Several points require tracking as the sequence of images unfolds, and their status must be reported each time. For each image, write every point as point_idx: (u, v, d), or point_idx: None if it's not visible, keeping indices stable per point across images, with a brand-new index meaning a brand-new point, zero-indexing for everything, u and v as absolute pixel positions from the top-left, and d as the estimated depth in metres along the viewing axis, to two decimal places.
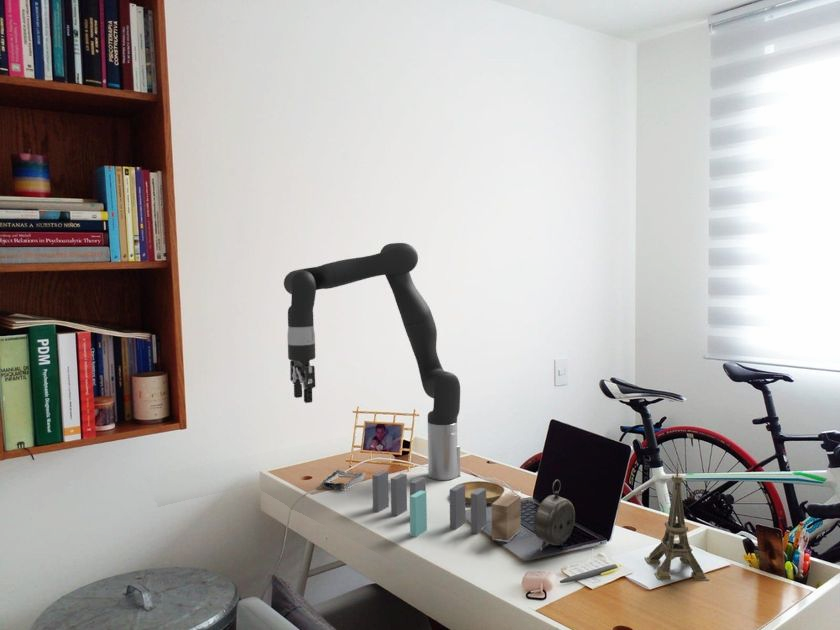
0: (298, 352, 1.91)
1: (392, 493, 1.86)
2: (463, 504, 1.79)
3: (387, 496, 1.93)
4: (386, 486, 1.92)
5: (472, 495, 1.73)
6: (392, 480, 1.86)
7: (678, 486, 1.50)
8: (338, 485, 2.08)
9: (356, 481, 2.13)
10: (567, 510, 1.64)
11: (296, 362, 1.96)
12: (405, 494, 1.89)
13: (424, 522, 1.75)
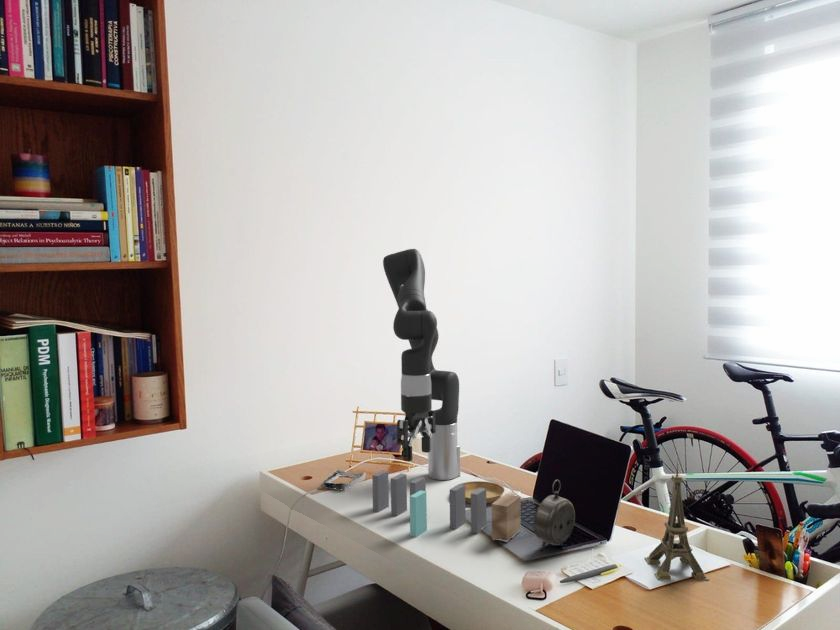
0: None
1: (392, 493, 1.86)
2: (463, 504, 1.79)
3: (387, 496, 1.93)
4: (386, 486, 1.92)
5: (472, 495, 1.73)
6: (392, 480, 1.86)
7: (678, 486, 1.50)
8: (338, 486, 2.08)
9: (356, 482, 2.13)
10: (567, 510, 1.64)
11: (417, 416, 1.70)
12: (405, 494, 1.89)
13: (424, 522, 1.75)
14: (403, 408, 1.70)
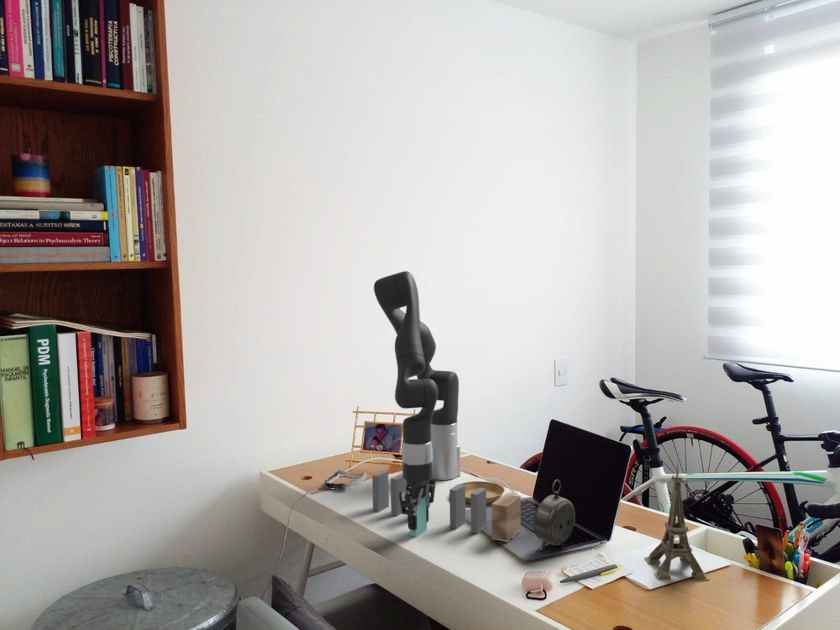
0: None
1: (392, 493, 1.86)
2: (463, 504, 1.79)
3: (387, 496, 1.93)
4: (386, 486, 1.92)
5: (472, 495, 1.73)
6: (392, 480, 1.86)
7: (678, 486, 1.50)
8: (339, 486, 2.07)
9: (357, 482, 2.13)
10: (567, 510, 1.64)
11: (418, 484, 1.72)
12: None
13: (424, 521, 1.75)
14: (404, 476, 1.71)
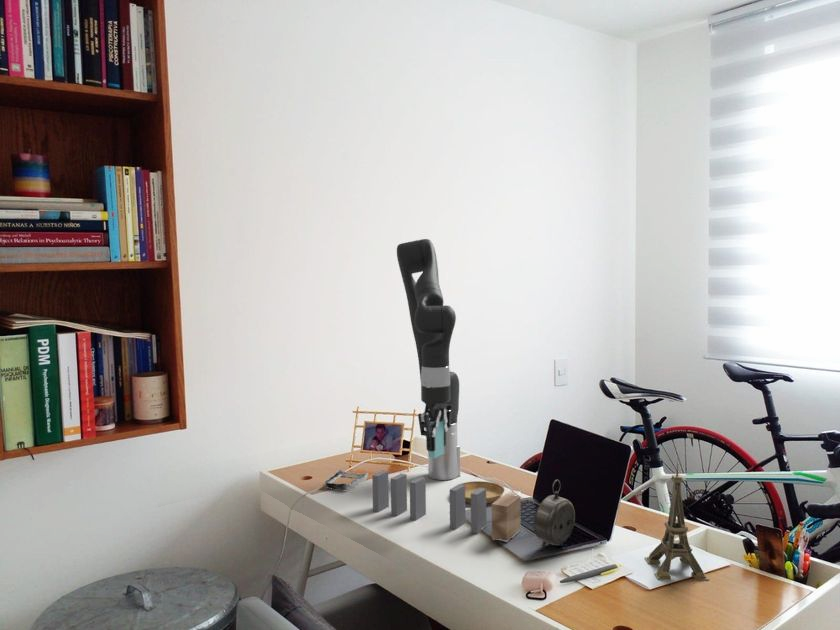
0: None
1: (392, 493, 1.86)
2: (463, 504, 1.79)
3: (387, 496, 1.93)
4: (386, 486, 1.92)
5: (472, 495, 1.73)
6: (392, 480, 1.86)
7: (678, 486, 1.50)
8: (340, 486, 2.07)
9: (358, 482, 2.13)
10: (567, 510, 1.64)
11: (436, 406, 1.78)
12: (405, 494, 1.89)
13: (442, 444, 1.81)
14: (423, 399, 1.78)
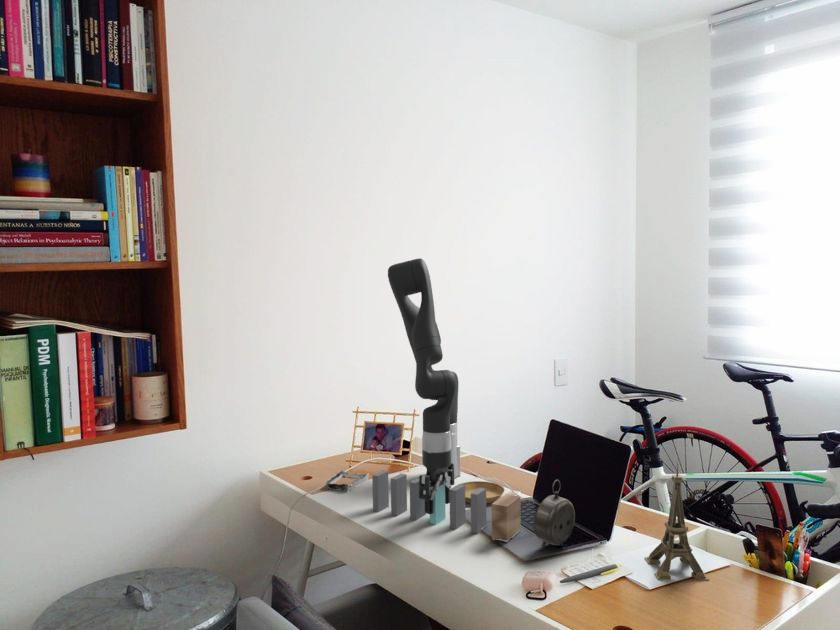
0: None
1: (392, 493, 1.86)
2: (463, 504, 1.79)
3: (387, 496, 1.93)
4: (386, 486, 1.92)
5: (472, 495, 1.73)
6: (392, 480, 1.86)
7: (678, 486, 1.50)
8: (341, 487, 2.07)
9: (360, 482, 2.12)
10: (567, 510, 1.64)
11: (437, 471, 1.79)
12: (405, 494, 1.89)
13: (443, 510, 1.83)
14: (424, 463, 1.79)
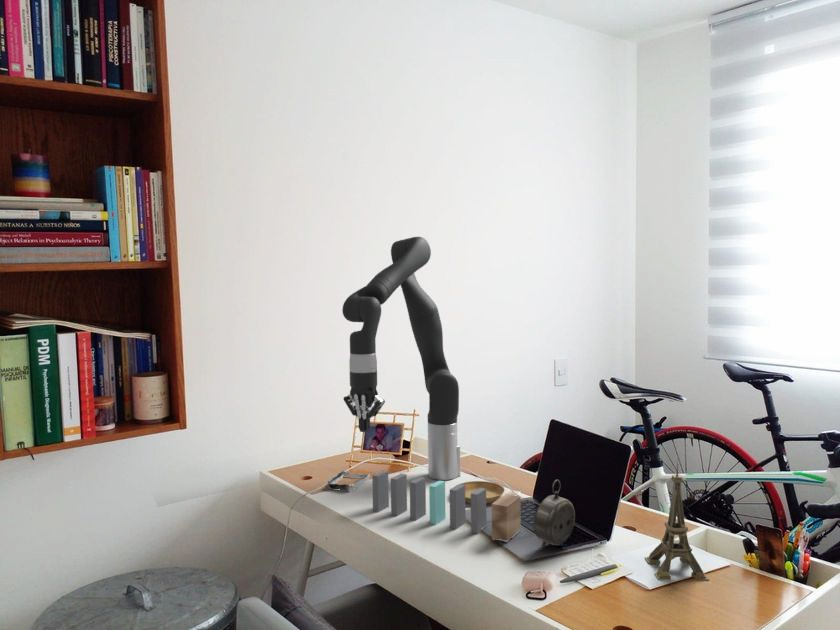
0: None
1: (392, 493, 1.86)
2: (463, 504, 1.79)
3: (387, 496, 1.93)
4: (386, 486, 1.92)
5: (472, 495, 1.73)
6: (392, 480, 1.86)
7: (678, 486, 1.50)
8: (342, 487, 2.06)
9: (361, 483, 2.12)
10: (567, 510, 1.64)
11: None
12: (405, 494, 1.89)
13: (443, 510, 1.83)
14: (370, 384, 1.88)
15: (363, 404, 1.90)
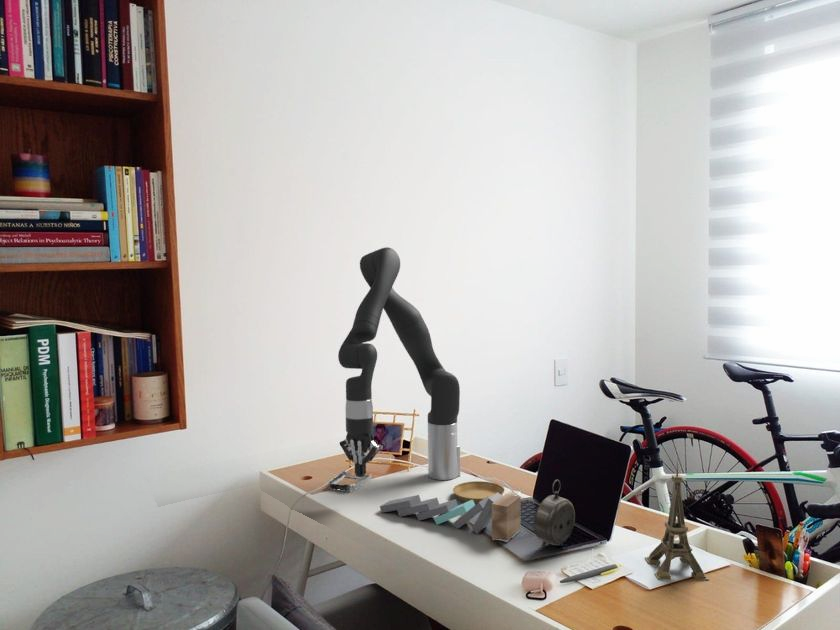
0: None
1: (415, 508, 1.83)
2: (477, 513, 1.78)
3: None
4: None
5: (489, 500, 1.71)
6: (426, 505, 1.81)
7: (678, 486, 1.50)
8: (344, 487, 2.06)
9: (362, 483, 2.12)
10: (567, 510, 1.64)
11: None
12: None
13: None
14: (366, 430, 1.90)
15: (359, 449, 1.92)
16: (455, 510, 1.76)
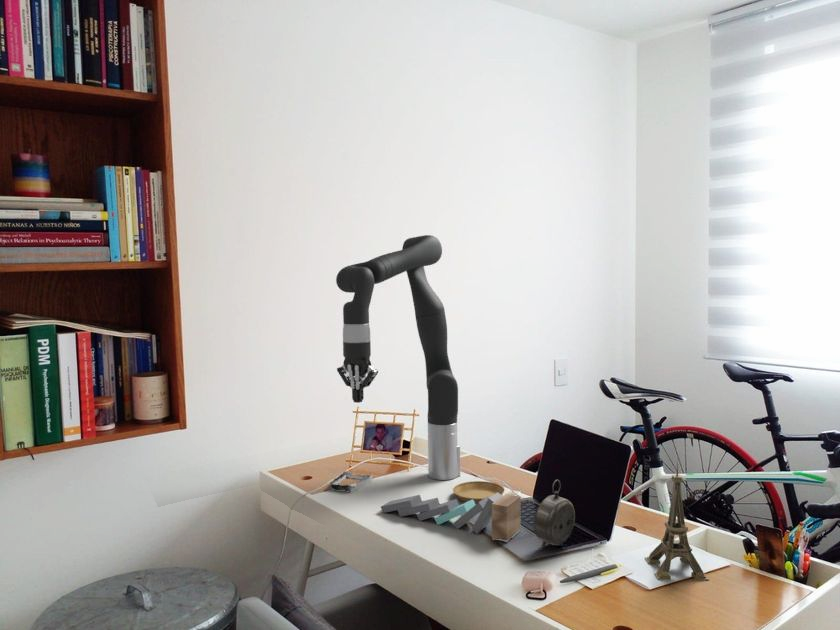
0: None
1: (416, 508, 1.83)
2: (477, 513, 1.78)
3: None
4: None
5: (489, 500, 1.71)
6: (427, 506, 1.81)
7: (678, 486, 1.50)
8: (345, 487, 2.06)
9: (363, 483, 2.11)
10: (567, 510, 1.64)
11: None
12: None
13: None
14: (363, 354, 1.89)
15: (356, 374, 1.90)
16: (456, 510, 1.76)
